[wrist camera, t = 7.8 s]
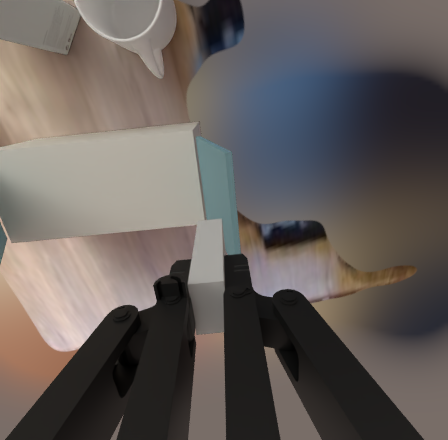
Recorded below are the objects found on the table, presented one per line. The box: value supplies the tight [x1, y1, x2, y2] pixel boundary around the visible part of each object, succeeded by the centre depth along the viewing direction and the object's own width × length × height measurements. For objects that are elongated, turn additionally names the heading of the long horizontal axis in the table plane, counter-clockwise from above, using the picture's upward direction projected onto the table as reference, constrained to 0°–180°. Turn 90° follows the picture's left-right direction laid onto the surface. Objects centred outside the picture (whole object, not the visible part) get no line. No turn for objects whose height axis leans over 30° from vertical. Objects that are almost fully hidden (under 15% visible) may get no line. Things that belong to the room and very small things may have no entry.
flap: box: [196, 136, 241, 255], centre depth 28 cm, size 12×10×1 cm
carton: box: [0, 122, 206, 243], centre depth 39 cm, size 11×24×12 cm, turn 96°
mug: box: [74, 0, 177, 79], centre depth 33 cm, size 9×12×11 cm
